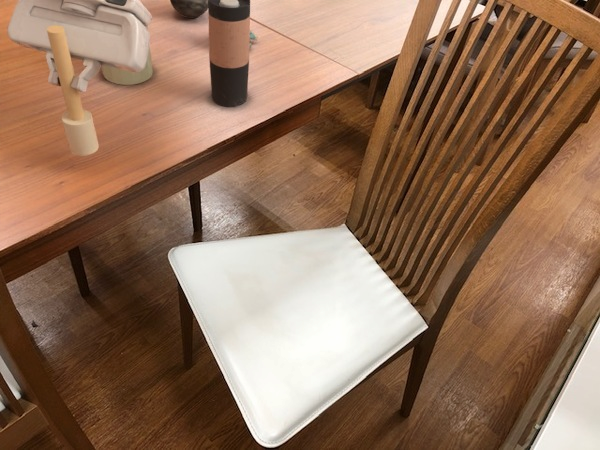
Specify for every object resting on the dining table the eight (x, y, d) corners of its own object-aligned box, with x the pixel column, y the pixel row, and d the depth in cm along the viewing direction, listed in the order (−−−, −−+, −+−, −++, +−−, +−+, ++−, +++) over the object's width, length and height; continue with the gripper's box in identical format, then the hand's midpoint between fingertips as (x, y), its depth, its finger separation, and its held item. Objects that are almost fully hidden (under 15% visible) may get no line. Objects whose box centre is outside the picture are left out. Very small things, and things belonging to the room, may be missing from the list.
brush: (63, 148, 82) (30, 28, 68) (85, 136, 85) (57, 18, 70) (83, 159, 80) (53, 39, 66) (104, 146, 83) (79, 28, 69)
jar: (92, 73, 105) (80, 16, 97) (127, 56, 112) (119, 1, 103) (128, 90, 102) (119, 33, 94) (162, 71, 109) (156, 16, 100)
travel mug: (203, 93, 104) (199, -6, 90) (234, 84, 108) (234, -13, 94) (224, 111, 100) (223, 11, 86) (255, 100, 104) (259, 3, 90)
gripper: (10, -30, 72) (-13, 65, 72) (145, -1, 70) (121, 97, 70) (37, -9, 78) (16, 78, 78) (162, 18, 76) (140, 108, 76)
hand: (66, 87), depth 74 cm, fingers closed on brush, 2 cm apart
